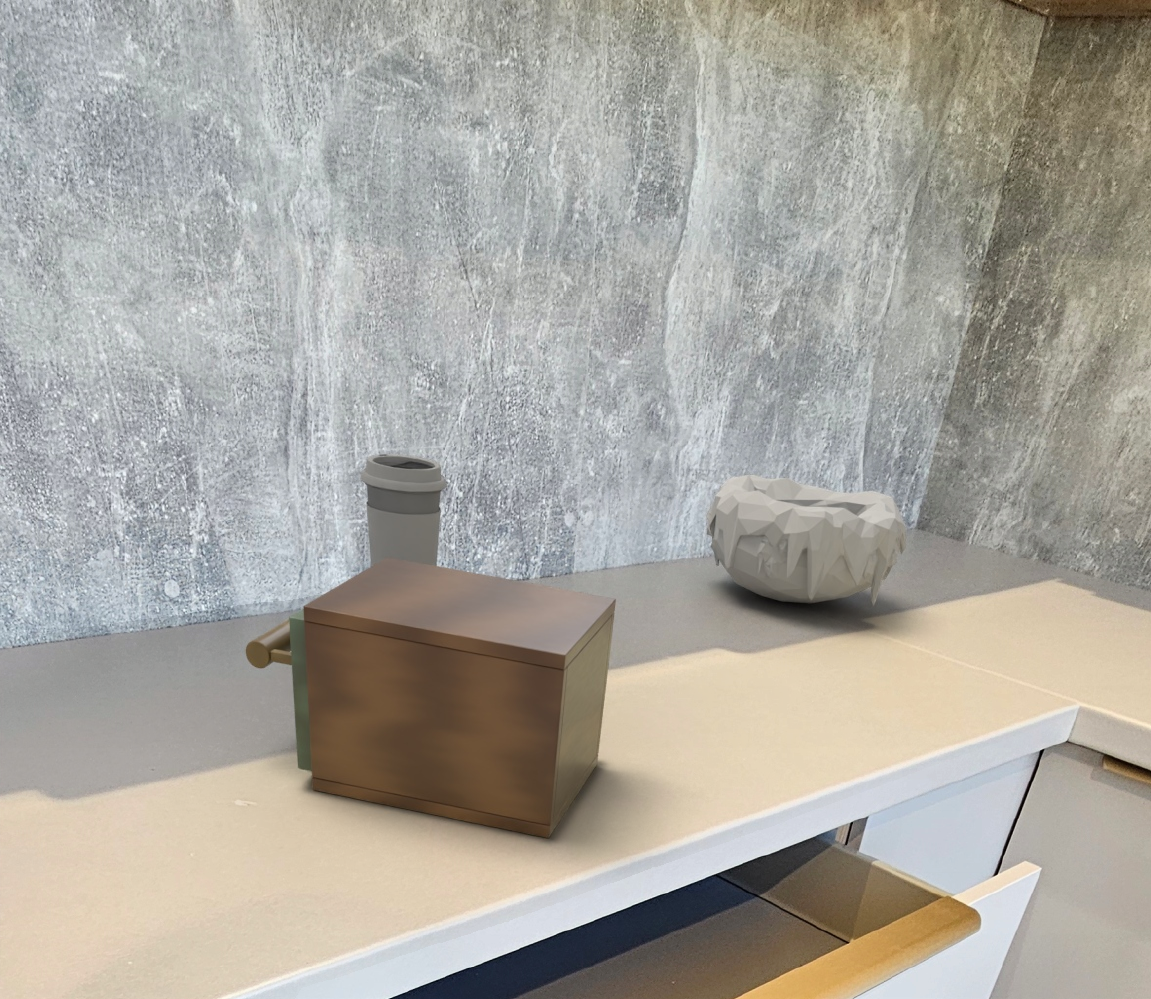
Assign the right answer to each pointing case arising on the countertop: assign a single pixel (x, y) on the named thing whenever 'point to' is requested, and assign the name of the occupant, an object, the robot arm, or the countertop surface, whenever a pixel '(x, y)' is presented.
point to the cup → (403, 507)
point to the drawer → (278, 649)
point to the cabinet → (457, 693)
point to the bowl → (804, 538)
